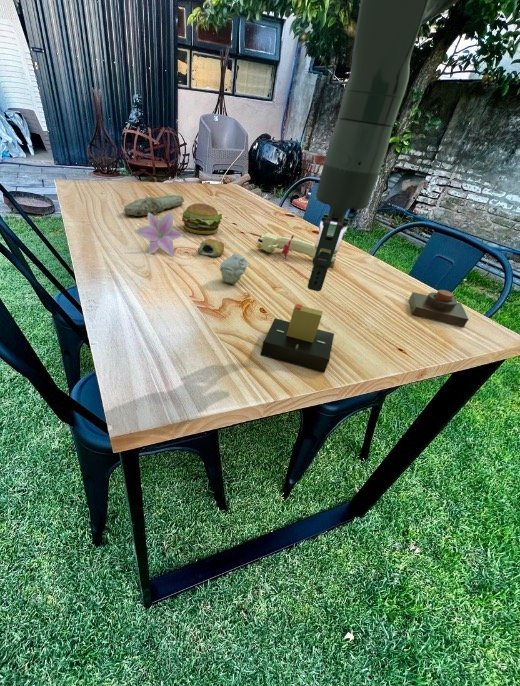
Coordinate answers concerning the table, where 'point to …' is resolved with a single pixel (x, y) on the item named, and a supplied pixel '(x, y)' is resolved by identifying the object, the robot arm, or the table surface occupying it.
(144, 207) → the elongated rock
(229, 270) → the frog figurine
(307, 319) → the lock knob
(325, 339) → the plate
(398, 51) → the robot arm
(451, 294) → the bell button
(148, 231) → the lily
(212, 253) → the pastry
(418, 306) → the brown base
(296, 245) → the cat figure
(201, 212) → the food
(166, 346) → the table surface
